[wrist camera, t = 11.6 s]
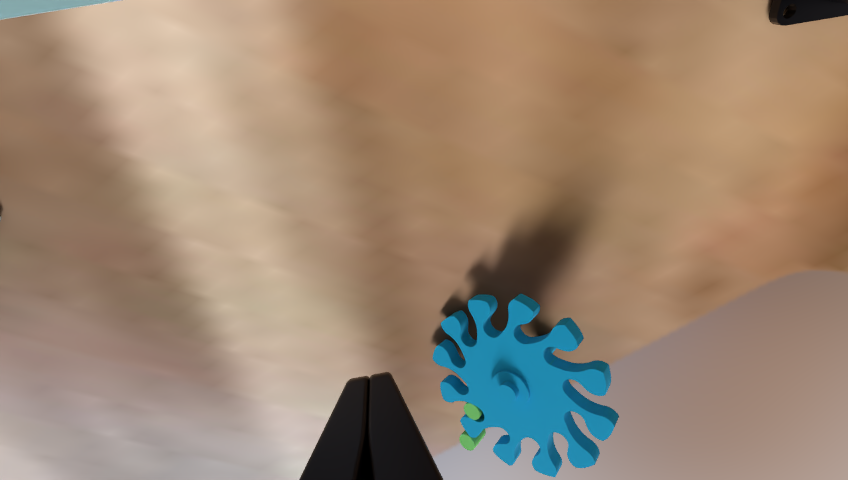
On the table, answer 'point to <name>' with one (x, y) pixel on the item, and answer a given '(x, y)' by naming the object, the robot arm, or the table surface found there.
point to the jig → (41, 6)
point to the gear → (523, 384)
